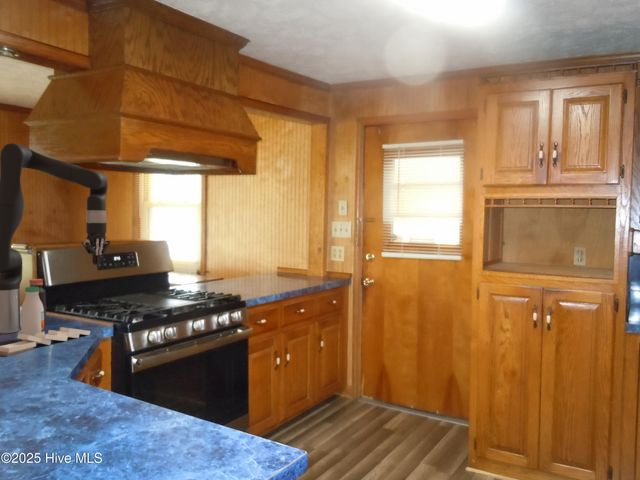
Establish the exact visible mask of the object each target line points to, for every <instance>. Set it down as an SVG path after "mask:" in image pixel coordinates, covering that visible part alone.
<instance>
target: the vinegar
mask: <svg viewBox="0 0 640 480" xmlns="http://www.w3.org/2000/svg"><path fill="white" fill-rule="evenodd" d="M28 280H29V287H39V293H38V295H39V298H40V300H41V302H42V304H43V308H44V328H45V327H46V326H47V315H46V314H47V313H46V311H47V310H46V309H47V307H46V290H45V289H44V288H43V285H44V283H43V281H44V279H43V278H32V279H28Z"/></svg>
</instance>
